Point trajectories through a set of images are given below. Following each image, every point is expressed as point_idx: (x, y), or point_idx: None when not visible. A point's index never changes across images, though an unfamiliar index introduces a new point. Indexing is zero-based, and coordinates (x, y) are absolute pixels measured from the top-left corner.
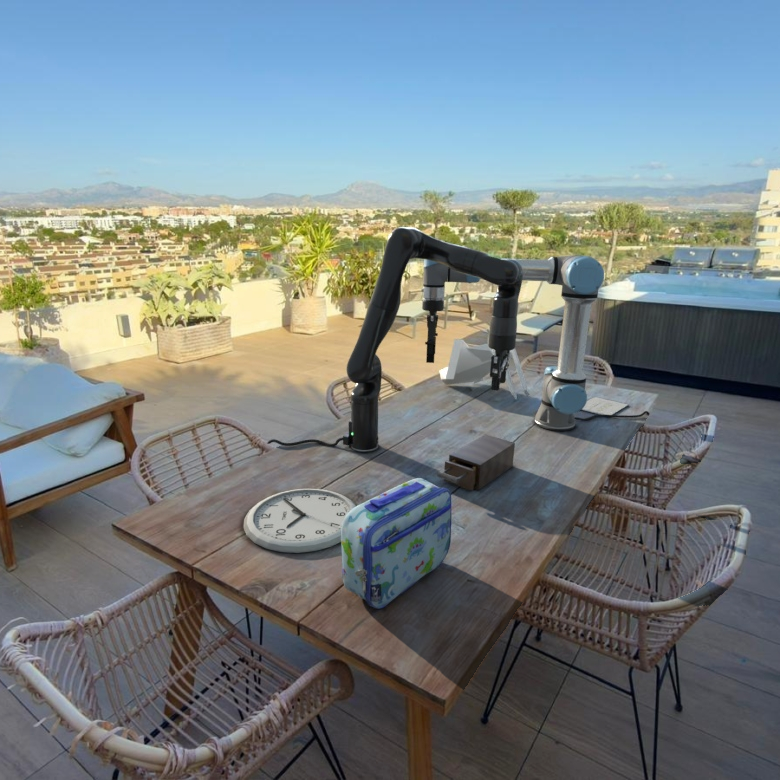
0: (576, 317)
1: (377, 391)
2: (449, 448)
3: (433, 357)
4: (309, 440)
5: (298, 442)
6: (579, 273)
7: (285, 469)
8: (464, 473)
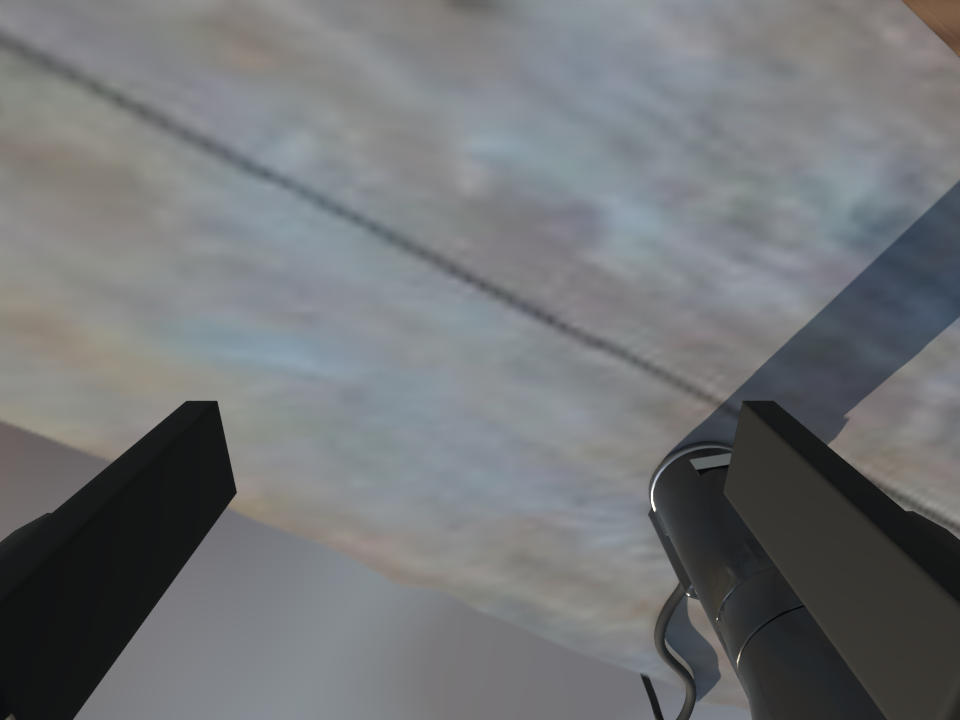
0: None
1: None
2: (715, 136)
3: (819, 452)
4: (665, 648)
5: (683, 671)
6: None
7: None
8: None
